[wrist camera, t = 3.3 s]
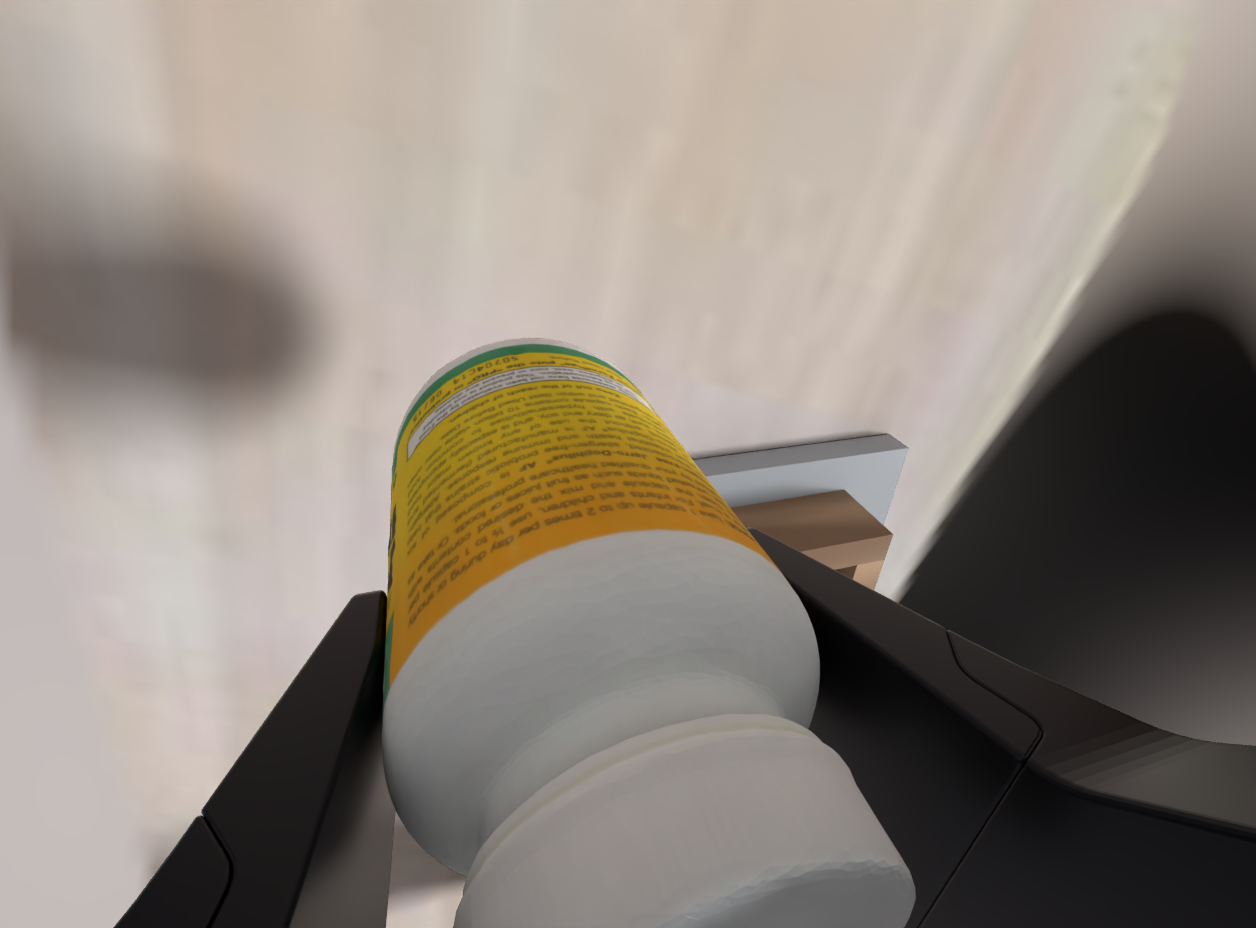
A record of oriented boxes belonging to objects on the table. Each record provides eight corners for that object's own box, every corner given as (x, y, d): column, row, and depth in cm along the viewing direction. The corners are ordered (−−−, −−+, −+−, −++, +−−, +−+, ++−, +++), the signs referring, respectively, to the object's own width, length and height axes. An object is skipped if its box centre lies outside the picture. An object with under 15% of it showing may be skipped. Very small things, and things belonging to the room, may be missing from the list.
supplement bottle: (674, 485, 14) (986, 942, 7) (473, 586, 14) (558, 1187, 6) (592, 279, 11) (1004, 702, 4) (331, 405, 11) (164, 1158, 3)
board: (828, 635, 31) (841, 652, 30) (565, 696, 28) (570, 719, 27) (889, 433, 25) (908, 448, 24) (560, 477, 21) (567, 495, 20)
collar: (802, 641, 29) (838, 692, 26) (628, 682, 26) (650, 742, 24) (844, 489, 24) (893, 534, 22) (638, 522, 22) (667, 576, 19)
